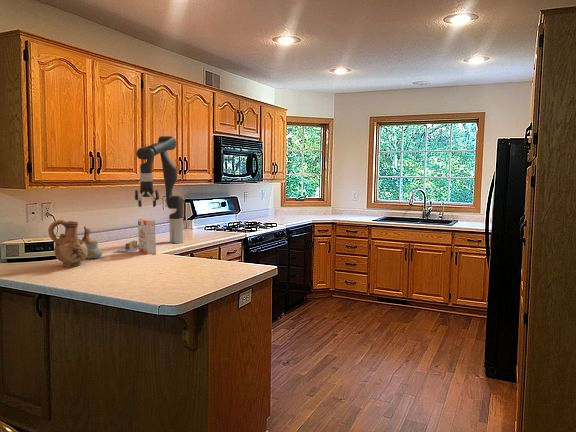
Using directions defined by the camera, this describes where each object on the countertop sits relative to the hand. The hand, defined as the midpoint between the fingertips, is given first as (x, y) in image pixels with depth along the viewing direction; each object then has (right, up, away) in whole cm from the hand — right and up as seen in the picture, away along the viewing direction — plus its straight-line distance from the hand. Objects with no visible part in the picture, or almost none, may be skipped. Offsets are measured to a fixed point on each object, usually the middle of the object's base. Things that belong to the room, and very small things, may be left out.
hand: (147, 206), depth 291 cm
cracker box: (0, -29, -1) cm, 29 cm away
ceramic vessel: (-28, -33, -39) cm, 58 cm away
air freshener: (-27, -30, -18) cm, 44 cm away
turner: (-14, -27, +10) cm, 32 cm away
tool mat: (-15, -28, +10) cm, 33 cm away
